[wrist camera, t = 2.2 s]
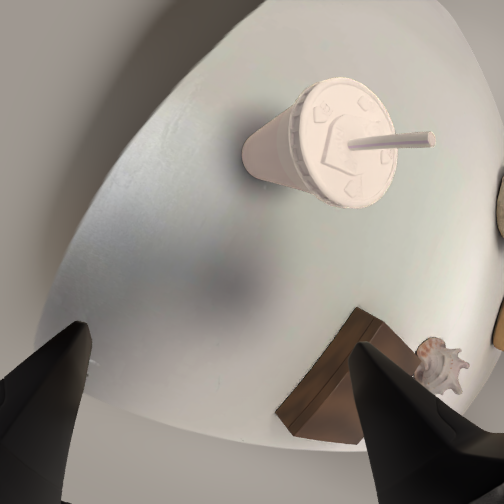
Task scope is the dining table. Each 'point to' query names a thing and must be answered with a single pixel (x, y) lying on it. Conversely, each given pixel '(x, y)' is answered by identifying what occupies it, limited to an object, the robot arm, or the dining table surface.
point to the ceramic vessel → (500, 209)
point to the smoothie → (332, 145)
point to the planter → (499, 330)
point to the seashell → (439, 367)
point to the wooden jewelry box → (340, 383)
